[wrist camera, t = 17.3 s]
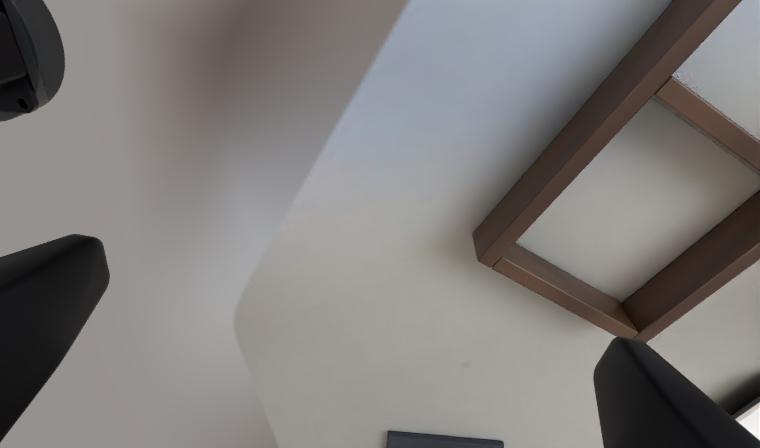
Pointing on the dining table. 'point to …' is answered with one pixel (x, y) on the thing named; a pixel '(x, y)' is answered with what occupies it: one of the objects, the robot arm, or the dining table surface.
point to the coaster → (436, 441)
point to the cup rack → (586, 139)
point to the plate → (750, 417)
